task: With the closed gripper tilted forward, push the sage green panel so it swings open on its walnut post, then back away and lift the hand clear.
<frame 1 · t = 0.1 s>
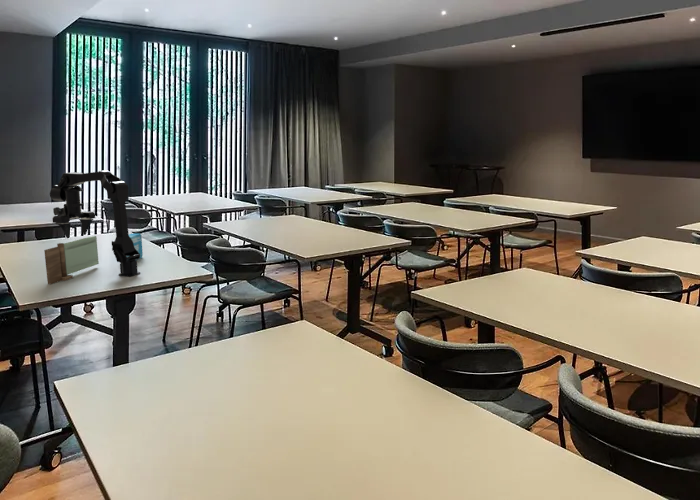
hand: (76, 236, 253), 15 cm above the table, tool pointing down, fingers open, 9 cm apart
gate frame: (63, 279, 237), on the table
data package: (133, 260, 276), on the table
sage green panel: (79, 254, 248), point 8 cm above the table, hinge at 0.0°
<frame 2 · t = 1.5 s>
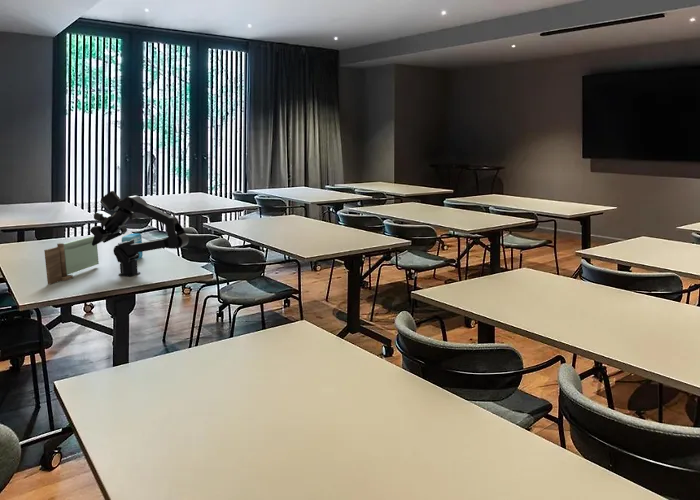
hand: (98, 243, 246), 13 cm above the table, tool tilted 45°, fingers open, 7 cm apart
nothing on the table moved.
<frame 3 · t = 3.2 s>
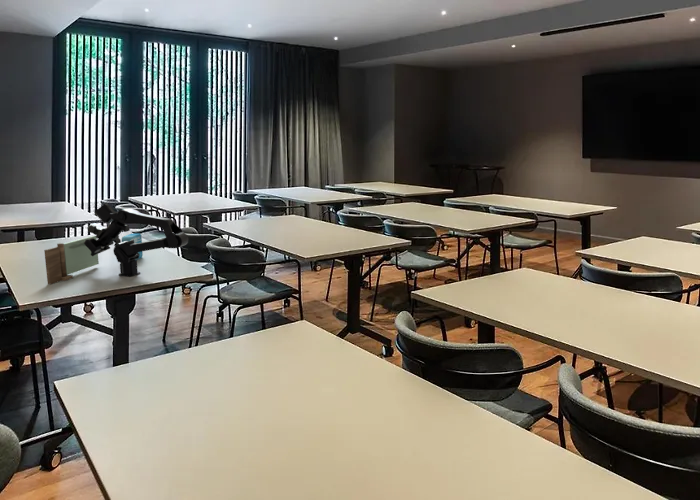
hand: (91, 255, 248), 8 cm above the table, tool tilted 45°, fingers closed
nothing on the table moved.
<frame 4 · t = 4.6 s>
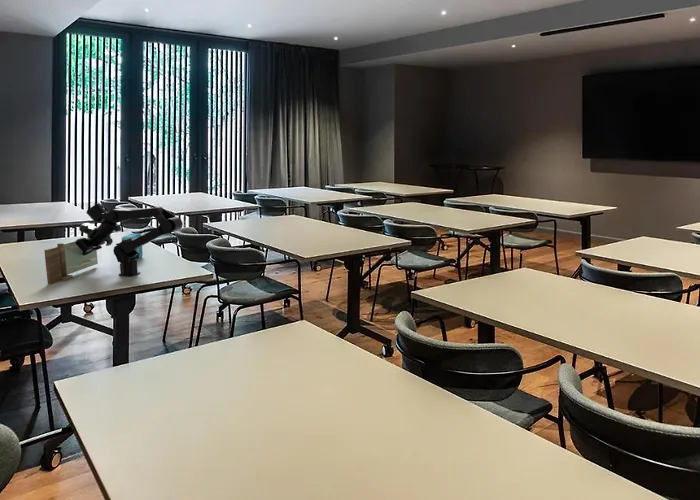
hand: (83, 254, 248), 8 cm above the table, tool tilted 45°, fingers closed, pressing on sage green panel
sage green panel: (78, 254, 248), point 8 cm above the table, hinge at 1.3°, touching gripper
everything else where it was.
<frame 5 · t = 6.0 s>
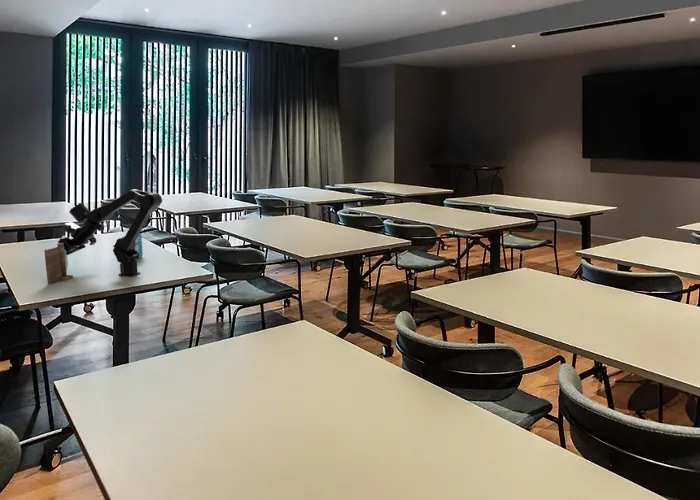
hand: (67, 254, 250), 8 cm above the table, tool tilted 45°, fingers closed
sage green panel: (61, 254, 247), point 8 cm above the table, hinge at 33.9°, touching gripper
everything else where it was.
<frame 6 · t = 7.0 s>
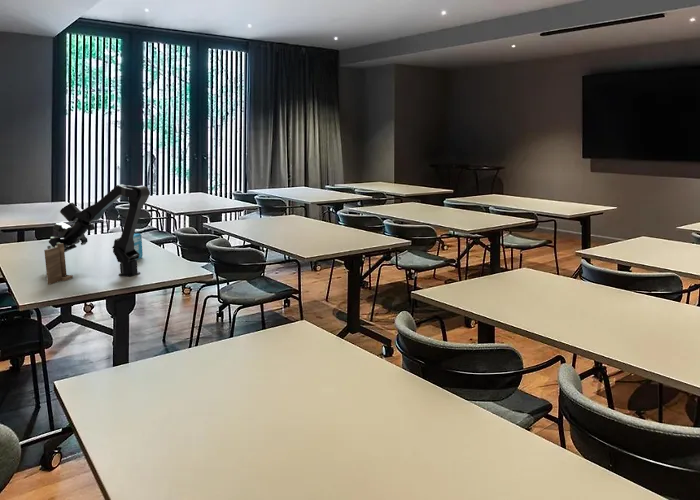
hand: (58, 254, 251), 8 cm above the table, tool tilted 45°, fingers closed
sage green panel: (54, 255, 245), point 8 cm above the table, hinge at 45.9°, touching gripper
everything else where it was.
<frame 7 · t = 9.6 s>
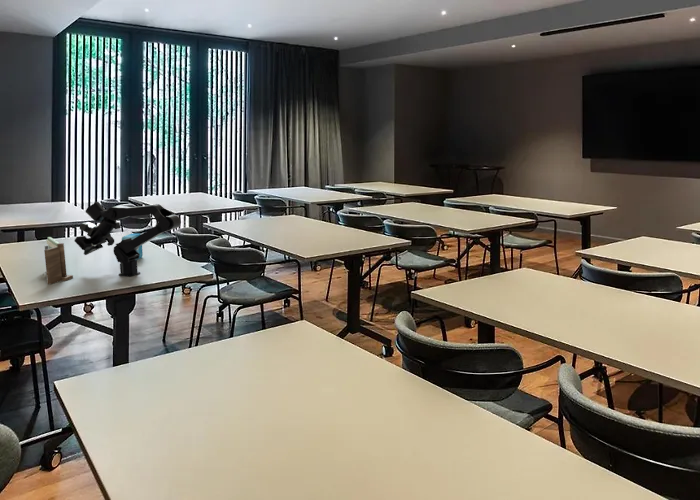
hand: (84, 254, 249), 8 cm above the table, tool tilted 40°, fingers closed
sage green panel: (53, 255, 245), point 8 cm above the table, hinge at 48.8°
everything else where it was.
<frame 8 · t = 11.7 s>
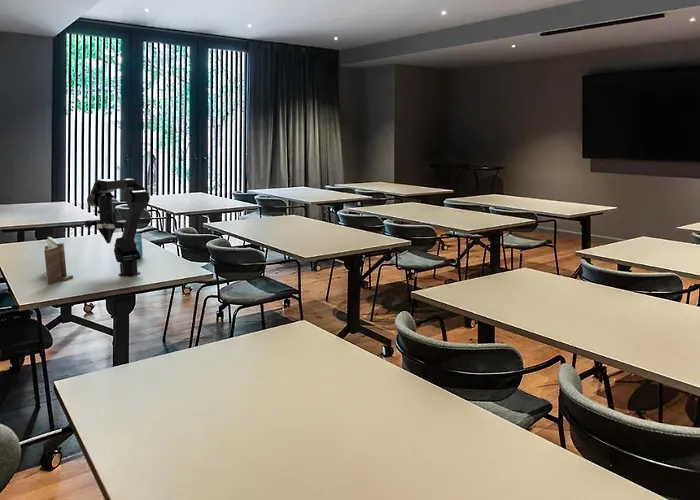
hand: (108, 243, 252), 12 cm above the table, tool pointing down, fingers closed
nothing on the table moved.
at the end: sage green panel at +49° (first picture: +0°); data package moved 0.3 cm from its start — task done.
